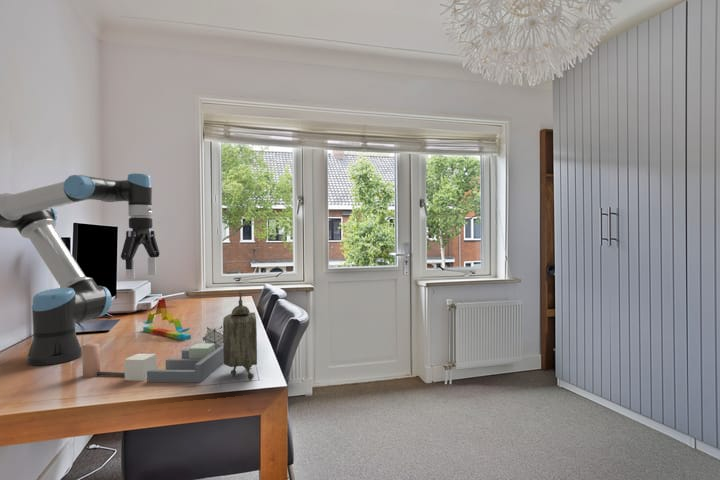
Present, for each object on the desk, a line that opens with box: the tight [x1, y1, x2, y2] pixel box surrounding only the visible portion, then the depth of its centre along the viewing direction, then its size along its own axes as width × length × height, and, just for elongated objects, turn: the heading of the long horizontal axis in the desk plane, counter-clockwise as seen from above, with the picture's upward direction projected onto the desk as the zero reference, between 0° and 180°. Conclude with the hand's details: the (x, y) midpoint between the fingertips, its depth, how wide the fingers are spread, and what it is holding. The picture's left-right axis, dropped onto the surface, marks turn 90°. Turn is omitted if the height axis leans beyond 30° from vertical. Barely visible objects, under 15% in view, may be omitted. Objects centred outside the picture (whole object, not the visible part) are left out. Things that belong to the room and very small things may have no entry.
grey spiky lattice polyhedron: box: [202, 325, 223, 349], centre depth 155 cm, size 9×8×10 cm
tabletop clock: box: [222, 290, 258, 380], centre depth 126 cm, size 14×9×25 cm, turn 17°
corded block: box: [81, 342, 158, 382], centre depth 126 cm, size 21×6×9 cm, turn 83°
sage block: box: [188, 342, 216, 359], centre depth 137 cm, size 6×6×6 cm
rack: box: [146, 345, 224, 383], centre depth 132 cm, size 16×22×5 cm
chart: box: [142, 298, 192, 341], centre depth 177 cm, size 30×3×15 cm, turn 55°
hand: (141, 276), depth 152 cm, fingers open, 13 cm apart
